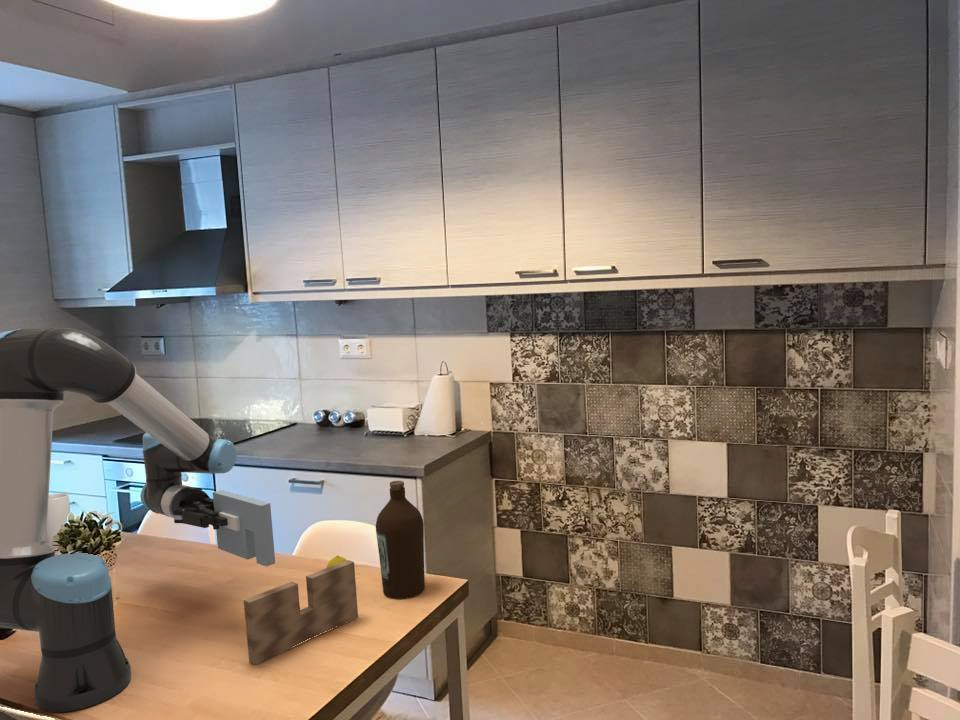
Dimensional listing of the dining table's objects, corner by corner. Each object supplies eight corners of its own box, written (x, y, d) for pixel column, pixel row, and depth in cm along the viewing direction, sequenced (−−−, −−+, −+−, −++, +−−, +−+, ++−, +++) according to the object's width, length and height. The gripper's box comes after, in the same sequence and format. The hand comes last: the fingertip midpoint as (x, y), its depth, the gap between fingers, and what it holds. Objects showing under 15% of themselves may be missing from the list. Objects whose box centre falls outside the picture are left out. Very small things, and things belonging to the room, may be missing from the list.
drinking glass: (78, 545, 211) (73, 494, 209) (54, 553, 205) (48, 501, 204) (66, 542, 215) (60, 492, 213) (41, 550, 209) (35, 498, 207)
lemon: (340, 596, 166) (338, 561, 165) (322, 591, 169) (319, 558, 168) (357, 587, 170) (354, 553, 170) (339, 583, 173) (336, 550, 173)
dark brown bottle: (421, 578, 173) (415, 473, 171) (432, 595, 163) (425, 484, 161) (376, 586, 170) (369, 479, 168) (384, 604, 160) (376, 491, 158)
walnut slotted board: (254, 665, 137) (249, 602, 136) (249, 661, 138) (243, 600, 137) (358, 617, 154) (354, 562, 153) (352, 615, 156) (348, 560, 154)
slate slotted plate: (217, 548, 154) (212, 492, 153) (226, 545, 156) (221, 489, 154) (266, 566, 142) (261, 505, 141) (275, 563, 144) (270, 503, 143)
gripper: (219, 511, 169) (278, 529, 154) (154, 530, 158) (211, 551, 143) (216, 479, 169) (275, 494, 153) (151, 496, 157) (207, 514, 142)
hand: (244, 522), depth 148 cm, fingers closed on slate slotted plate, 2 cm apart
